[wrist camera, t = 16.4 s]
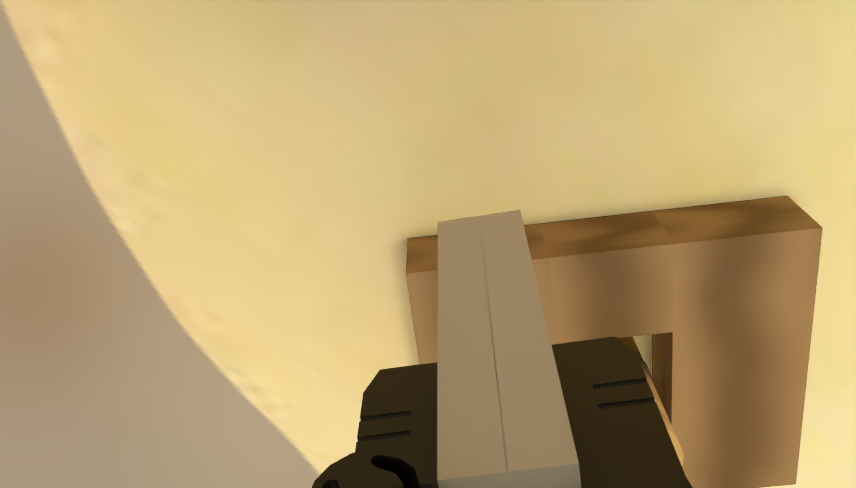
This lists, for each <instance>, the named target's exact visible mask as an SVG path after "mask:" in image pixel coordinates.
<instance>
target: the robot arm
mask: <svg viewBox="0 0 856 488" xmlns="http://www.w3.org/2000/svg"><path fill="white" fill-rule="evenodd" d="M360 419H361V422H359V429H358V436H357V438H358V442H357V443H356V450H355V453H352V454H349V455H348V456H346V457H344V458H342V459H340V460H339V461H337V462H335V463H333V464H331V465H330V466H329V467H328V468H327V469H326V470H325V471H324V472H323V473H322V474H321V475H320V476H319V477H318V478H317V479H316V480H315V482H314V484H313V486H312V488H693V487H692V486H691V484H690V482H689V481H688V479H687V477H686V476H685V473H684V471H683V468H682V466H681V463H680V461H679V458H678V456H677V453H676V451H675V448H674V446H673V443H672V441H671V438H670V436H669V433H668V431H667V428H666V426H665V423H664V421H663V418H662V416H661V413H660V411H659V408H658V406H657V403H656V402H655V400H654V396H653V393H652V391H651V388H650V386H649V383H647V378H646V376H645V373H644V371H643V368H642V366H641V363H640V361H639V358H638V356H637V354H636V353H635V352H633V351H632V350H631V349H630V348H629V347H627V346H626V345H625V344H624V343H622V342H621V341H620V340H619V339H618V338H616V337H615V336H613V337H606V338H598V339H591V340H583V341H575V342H568V343H560V344H553V345H551V341H550V337H549V332H548V328H547V324H546V319H545V315H544V311H543V307H542V302H541V298H540V294H539V289H538V285H537V281H536V276H535V272H534V268H533V263H532V259H531V255H530V250H529V246H528V242H527V237H526V233H525V229H524V224H523V220H522V216H521V212H520V210H516V211H509V212H503V213H496V214H489V215H482V216H475V217H469V218H462V219H455V220H448V221H442V222H438V349H437V362H435V363H427V364H420V365H412V366H405V367H397V368H390V369H382V370H379V372H378V373H377V375H376V376H375V377H374V379H373V380H372V382H371V383H370V384H369V386H368V387H367V389H366V390H365V391H364V393H363V400H362V407H361V415H360Z"/></svg>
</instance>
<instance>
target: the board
mask: <svg viewBox="0 0 856 488" xmlns="http://www.w3.org/2000/svg"><path fill="white" fill-rule="evenodd" d="M524 229H525V233H526V237H527V242H528V246H529V250H530V255H531V259H532V263H533V268H534V272H535V276H536V281H537V285H538V289H539V294H540V298H541V302H542V307H543V311H544V315H545V319H546V324H547V328H548V332H549V337H550V341H551V345H553V344H560V343H568V342H575V341H583V340H591V339H598V338H606V337H613V336H615V337H616V338H621V337H631V336H640V335H650V334H652V381H653V384H654V386H655V389H656V391H657V393H658V396H659V398H660V400H661V402H662V405H663V407H664V409H665V412H666V414H667V416H668V418H669V421H670V423H671V425H672V428H673V430H674V432H675V434H676V437H677V439H678V441H679V444H680V446H681V448H682V451H683V456H684V460H683V466H682V468H683V471H684V473H685V476H686V477H687V479H688V481H689V482H690V484H691V486H692V487H693V488H760V487H770V486H781V485H792V484H796V477H797V468H798V458H799V448H800V439H801V429H802V420H803V410H804V400H805V391H806V381H807V371H808V362H809V352H810V343H811V333H812V323H813V314H814V304H815V294H816V285H817V275H818V266H819V256H820V246H821V237H822V227H821V226H820V225H819V224H818V223H817V222H816V221H814V220H813V219H812V218H811V217H810V216H809V215H808V214H807V213H806V212H805V211H803V210H802V209H801V208H800V207H799V206H798V205H797V204H796V203H795V202H794V201H793V200H791V199H790V198H789V197H788V196H783V197H774V198H765V199H756V200H747V201H739V202H730V203H721V204H712V205H703V206H694V207H685V208H676V209H667V210H658V211H650V212H641V213H632V214H623V215H614V216H605V217H596V218H587V219H578V220H570V221H561V222H552V223H543V224H534V225H525V226H524ZM406 277H407V283H408V290H409V297H410V303H411V310H412V316H413V323H414V329H415V336H416V342H417V349H418V355H419V362H420V364H427V363H435V362H437V349H438V235H436V236H427V237H418V238H410V239H408V244H407V264H406Z"/></svg>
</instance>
